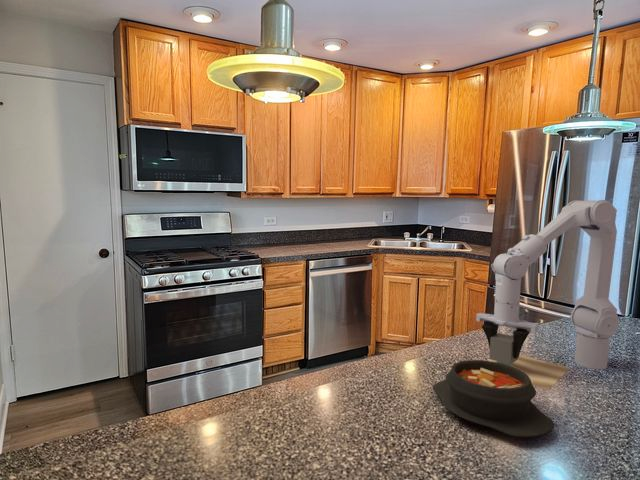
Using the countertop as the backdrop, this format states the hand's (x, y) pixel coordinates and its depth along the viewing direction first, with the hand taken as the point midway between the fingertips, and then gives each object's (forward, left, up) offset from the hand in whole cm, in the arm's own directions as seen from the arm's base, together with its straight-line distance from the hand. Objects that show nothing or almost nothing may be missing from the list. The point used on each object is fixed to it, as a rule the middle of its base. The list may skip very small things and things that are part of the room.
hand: (504, 354), depth 106 cm
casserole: (+24, +6, -5) cm, 25 cm away
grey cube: (0, 0, -1) cm, 1 cm away
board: (-4, +4, -4) cm, 7 cm away
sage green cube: (0, 0, -4) cm, 4 cm away
